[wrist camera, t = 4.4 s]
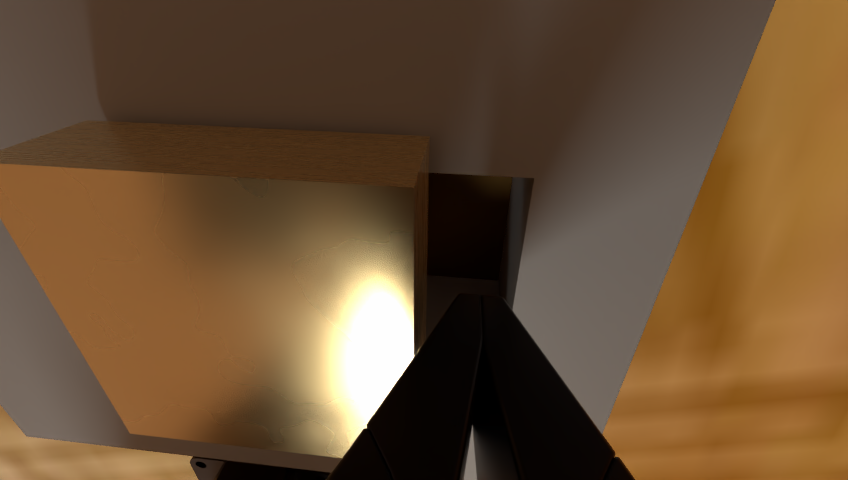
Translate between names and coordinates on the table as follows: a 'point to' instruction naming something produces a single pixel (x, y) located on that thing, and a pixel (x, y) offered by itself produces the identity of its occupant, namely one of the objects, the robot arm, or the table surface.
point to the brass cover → (230, 272)
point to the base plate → (402, 115)
